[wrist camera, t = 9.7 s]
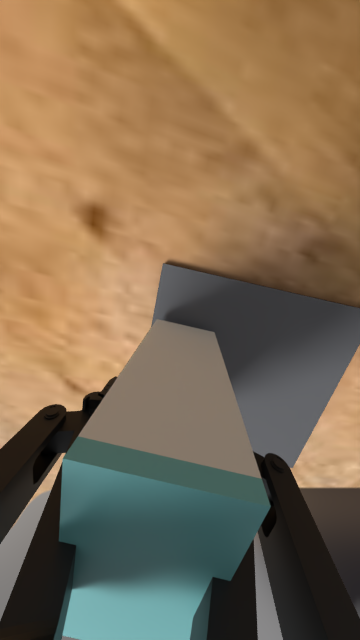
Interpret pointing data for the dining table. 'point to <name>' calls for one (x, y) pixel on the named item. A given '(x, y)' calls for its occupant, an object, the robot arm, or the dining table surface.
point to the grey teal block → (158, 492)
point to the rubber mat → (267, 350)
